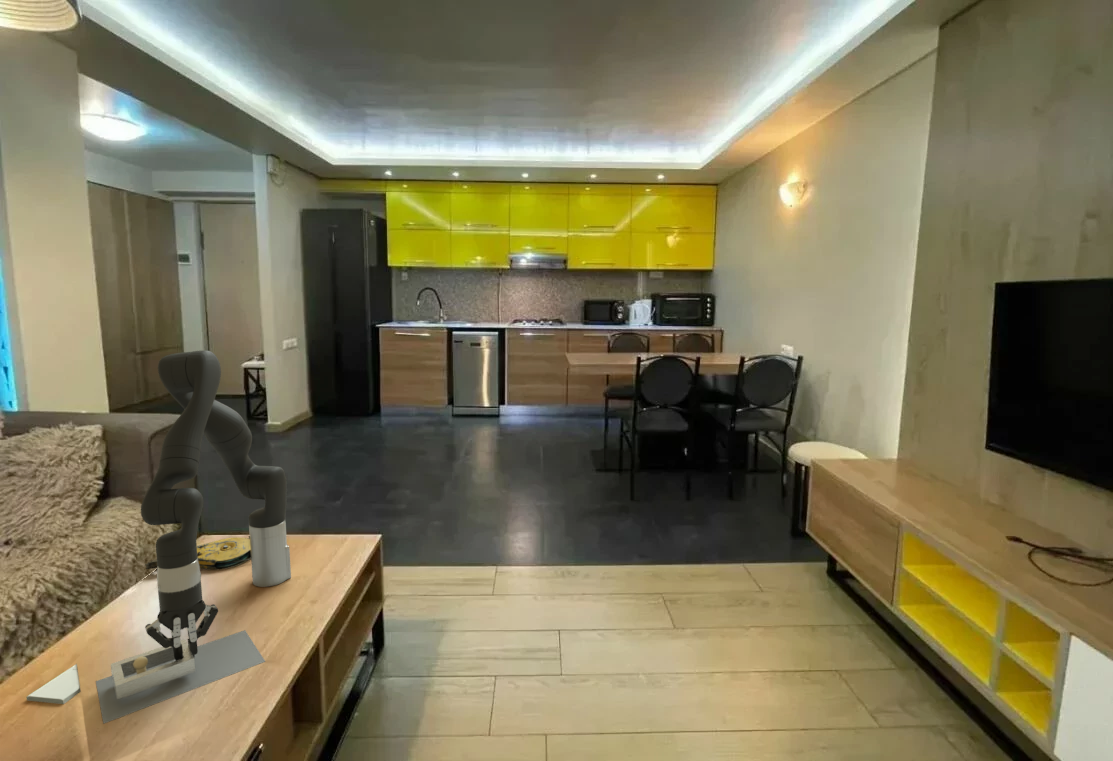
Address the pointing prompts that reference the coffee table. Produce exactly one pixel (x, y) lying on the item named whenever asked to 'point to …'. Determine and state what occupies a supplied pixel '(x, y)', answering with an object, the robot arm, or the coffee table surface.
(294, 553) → the coffee table surface
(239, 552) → the pulley block
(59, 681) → the external hard drive
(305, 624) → the coffee table surface
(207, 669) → the board
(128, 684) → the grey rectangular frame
